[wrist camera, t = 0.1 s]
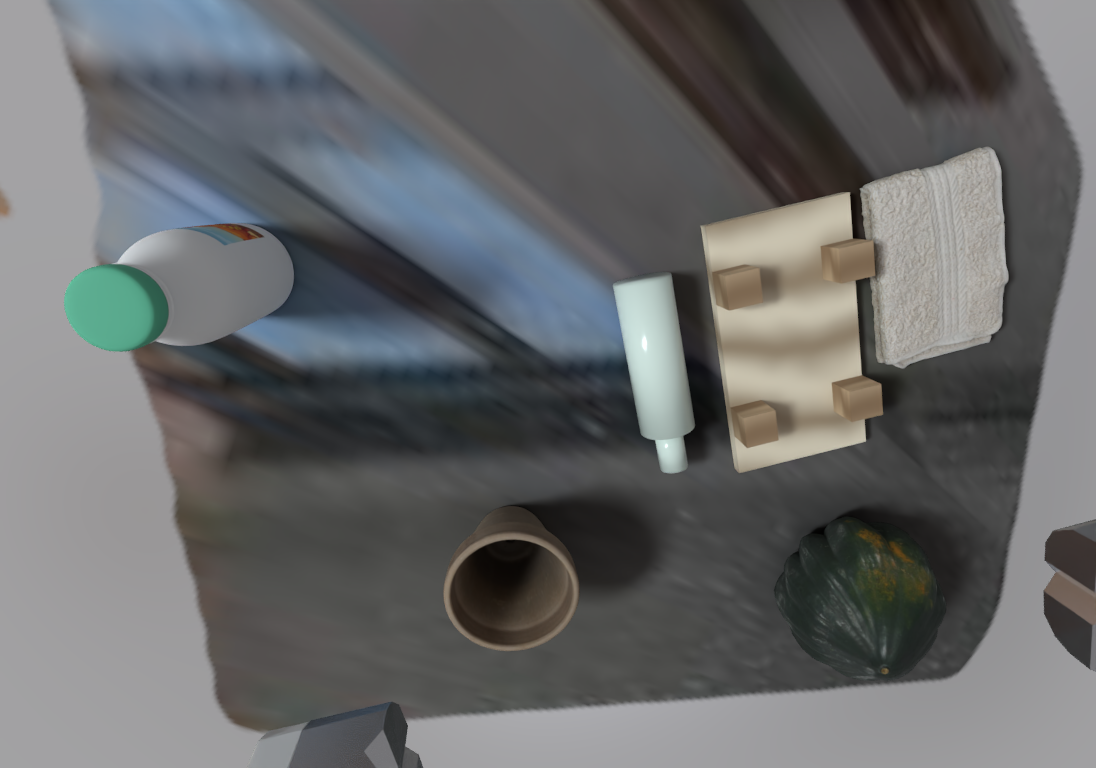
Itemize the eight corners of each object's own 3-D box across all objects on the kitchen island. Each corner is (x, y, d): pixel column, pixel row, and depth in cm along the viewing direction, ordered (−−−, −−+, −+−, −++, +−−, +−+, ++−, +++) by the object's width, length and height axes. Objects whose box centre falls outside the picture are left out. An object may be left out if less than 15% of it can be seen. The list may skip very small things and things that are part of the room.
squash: (973, 544, 60) (970, 607, 48) (911, 665, 64) (895, 751, 52) (825, 481, 67) (791, 522, 55) (779, 594, 72) (738, 654, 59)
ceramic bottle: (607, 282, 54) (619, 290, 50) (661, 269, 55) (678, 276, 50) (641, 462, 60) (655, 484, 55) (691, 449, 60) (708, 471, 55)
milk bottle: (311, 251, 51) (209, 280, 32) (275, 331, 53) (156, 405, 34) (220, 204, 49) (54, 206, 30) (185, 289, 51) (7, 341, 32)
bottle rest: (700, 225, 54) (718, 227, 50) (842, 192, 54) (870, 191, 50) (734, 467, 61) (752, 486, 57) (858, 437, 61) (885, 453, 57)
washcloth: (873, 369, 60) (893, 377, 57) (850, 183, 55) (871, 182, 52) (987, 334, 60) (1013, 340, 57) (976, 146, 55) (1004, 143, 52)
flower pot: (424, 539, 60) (413, 604, 50) (503, 458, 58) (507, 509, 49) (511, 603, 63) (516, 676, 53) (588, 528, 61) (608, 589, 52)
